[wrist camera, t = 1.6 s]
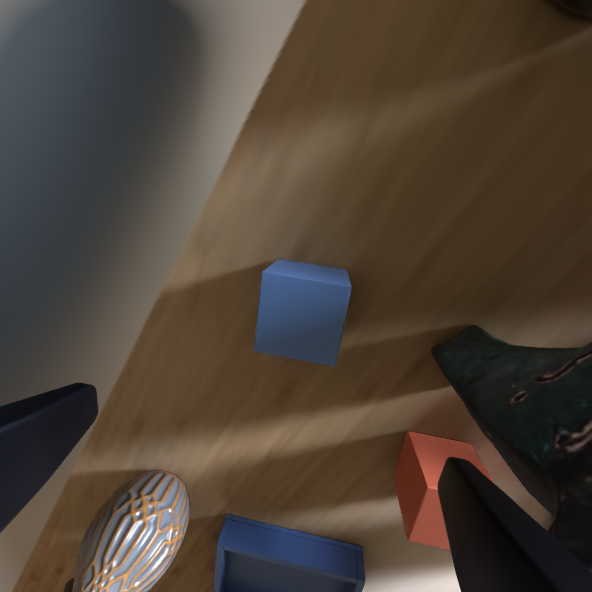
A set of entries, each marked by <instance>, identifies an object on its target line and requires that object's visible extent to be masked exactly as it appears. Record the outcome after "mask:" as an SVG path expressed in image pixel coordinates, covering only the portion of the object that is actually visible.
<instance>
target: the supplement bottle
mask: <svg viewBox="0 0 592 592" xmlns="http://www.w3.org/2000/svg"><path fill="white" fill-rule="evenodd" d="M556 1H557V2H558V3H559V4H560V5H561V6H563V7H564V8H566V9H567V10H569V11H571V12H573V13H576V14H579V15H582V16H588V17H592V0H556Z"/></svg>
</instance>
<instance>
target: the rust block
mask: <svg viewBox="0 0 592 592" xmlns="http://www.w3.org/2000/svg"><path fill="white" fill-rule="evenodd" d="M451 456H452V457H457V458H463V459H466V460H468V461H470V462H471V463H472V464H473V465H474V466H475V467H477V468H478V469H479V470H480V471H481V472H482V473H483V474H484V475H485V476H486V477H488V478H489V479H490V480H491V481H492V482H493V480H492V479H491V477H490V475H489V474H488V472H487V470H486V469H485V467H484V465H483V464H482V462H481V460H480V459H479V457H478V455H477V454H476V452H475V451H474V449H473V447H472V446H471V444H469V443H464V442H460V441H455V440H450V439H445V438H440V437H435V436H430V435H426V434H421V433H416V432H411V431H407V434H406V437H405V441H404V444H403V447H402V450H401V453H400V457H399V460H398V463H397V466H396V469H395V473H394V476H393V479H394V483H395V487H396V492H397V496H398V500H399V505H400V509H401V513H402V518H403V522H404V526H405V530H406V535H407V539H408V540H409V541H412V542H417V543H421V544H425V545H429V546H433V547H438V548H442V549H446V550H450V545H449V541H448V536H447V532H446V527H445V523H444V518H443V514H442V509H441V505H440V500H439V495H438V480H439V477H440V475H441V472H442V469H443V467H444V464H445V461H446V459H447V458H448V457H451ZM493 483H494V482H493ZM494 484H495V483H494ZM450 551H451V550H450Z"/></svg>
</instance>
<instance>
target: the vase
mask: <svg viewBox="0 0 592 592" xmlns="http://www.w3.org/2000/svg"><path fill="white" fill-rule="evenodd" d="M189 513H190V503H189V497H188V493H187V490H186V488H185V486H184V484H183V482H182V481H181V480H180V479H179V478H178V477H177V476H175V475H174V474H172V473H170V472H167V471H162V470H156V471H149V472H145V473H142V474H139V475H137V476H135V477H133V478H131V479H130V480H128V481H127V482H125V483H124V484H123V485H121V486H120V487H119V488H118V489H117V490H116V491H115V492H114V493H113V494H112V495H111V496H110V497H109V498H108V499H107V500H106V501H105V503H104V504H103V505H102V506H101V508H100V509H99V510H98V512H97V513H96V515H95V516H94V518H93V519H92V521H91V523H90V525H89V526H88V528H87V530H86V533H85V535H84V537H83V539H82V542H81V545H80V548H79V551H78V555H77V561H76V568H75V575H74V583H73V589H72V592H147V591H149V590H150V589H151V588H152V587H153V586H154V585H155V584H156V583H157V581H158V580H159V579H160V578H161V577H162V575H163V574H164V573H165V571H166V570H167V569H168V567H169V566H170V564H171V563H172V561H173V559H174V558H175V556H176V554H177V552H178V550H179V548H180V545H181V543H182V541H183V538H184V535H185V533H186V529H187V525H188V520H189Z"/></svg>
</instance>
